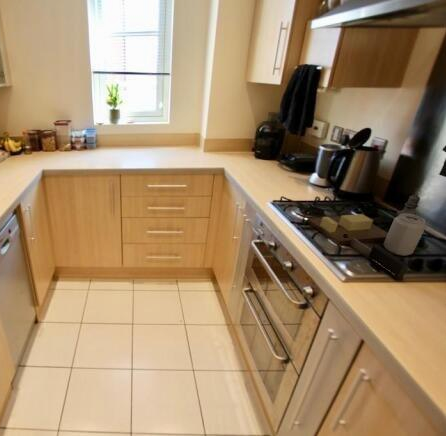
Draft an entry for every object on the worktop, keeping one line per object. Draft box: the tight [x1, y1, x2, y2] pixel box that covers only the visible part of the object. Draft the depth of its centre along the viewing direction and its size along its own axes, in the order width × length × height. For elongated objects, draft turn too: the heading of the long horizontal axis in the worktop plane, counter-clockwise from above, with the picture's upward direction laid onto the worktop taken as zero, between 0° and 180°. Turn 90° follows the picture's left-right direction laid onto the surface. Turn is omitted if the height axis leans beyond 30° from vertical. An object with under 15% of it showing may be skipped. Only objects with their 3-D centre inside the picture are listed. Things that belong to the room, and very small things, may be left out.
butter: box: [339, 213, 374, 231], centre depth 111 cm, size 5×8×4 cm, turn 96°
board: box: [306, 215, 388, 246], centre depth 112 cm, size 16×20×2 cm
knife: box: [349, 238, 410, 281], centre depth 95 cm, size 18×2×5 cm, turn 7°
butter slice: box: [320, 216, 338, 232], centre depth 110 cm, size 5×2×4 cm, turn 6°
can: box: [382, 213, 427, 257], centre depth 98 cm, size 8×8×12 cm
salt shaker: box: [396, 193, 421, 217], centre depth 114 cm, size 6×6×12 cm
